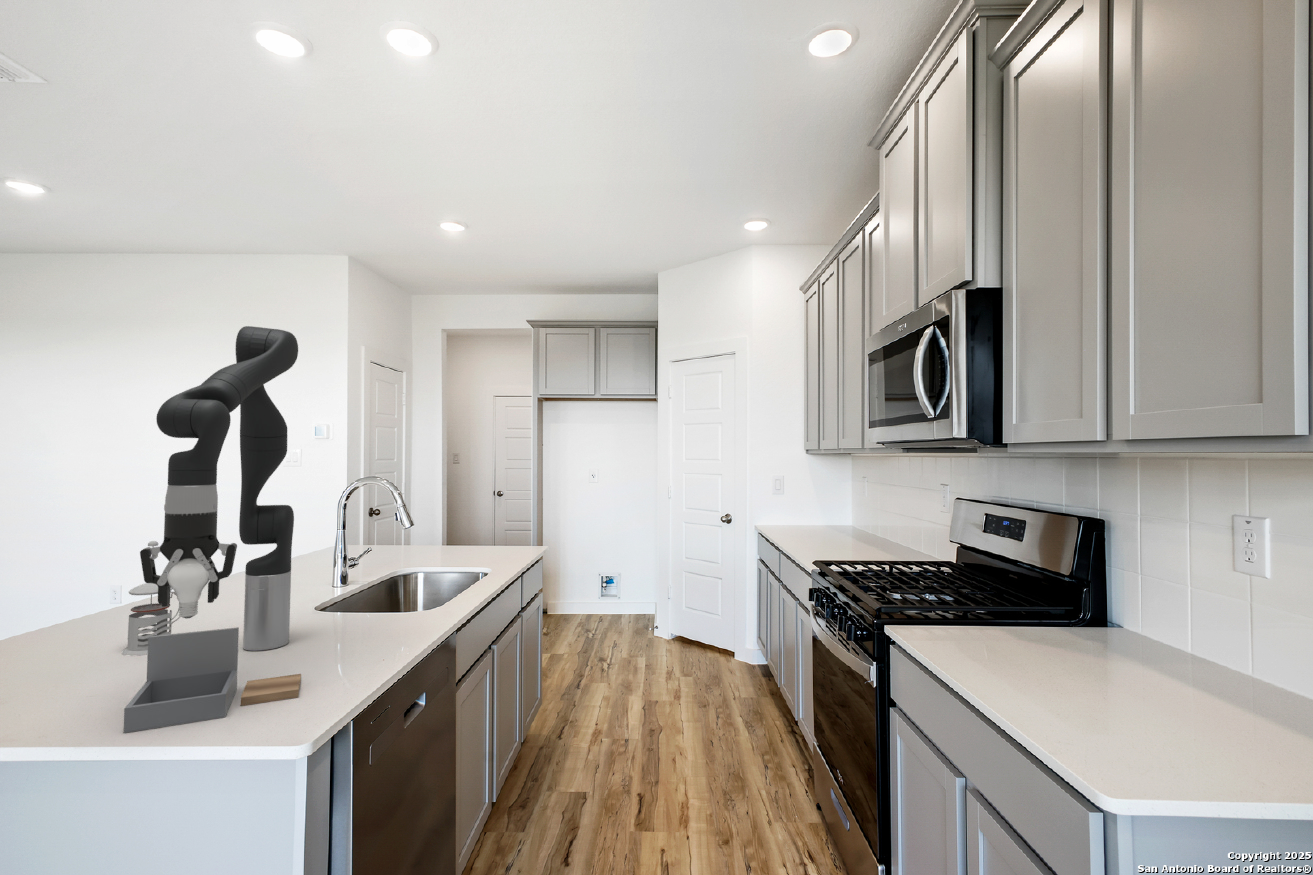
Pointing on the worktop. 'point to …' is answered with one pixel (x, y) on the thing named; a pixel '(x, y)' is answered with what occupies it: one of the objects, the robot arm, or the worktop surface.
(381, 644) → the worktop surface
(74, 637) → the worktop surface
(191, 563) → the lightbulb
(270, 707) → the worktop surface
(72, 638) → the worktop surface
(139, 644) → the french press
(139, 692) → the case
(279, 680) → the stand
